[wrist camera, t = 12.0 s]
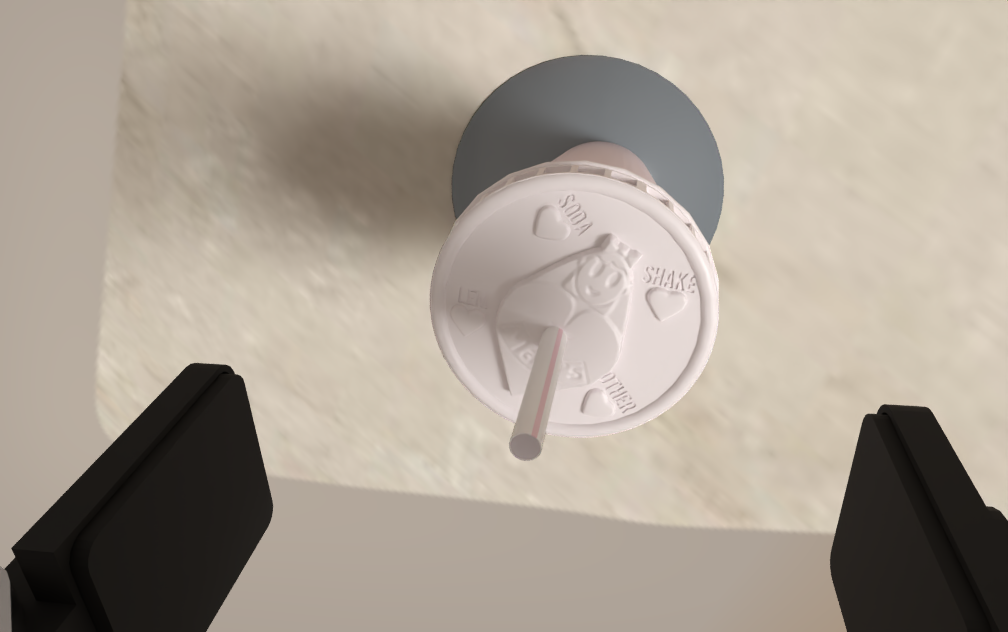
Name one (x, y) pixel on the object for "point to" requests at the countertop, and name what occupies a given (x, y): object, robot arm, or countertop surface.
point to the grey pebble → (593, 130)
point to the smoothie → (575, 298)
